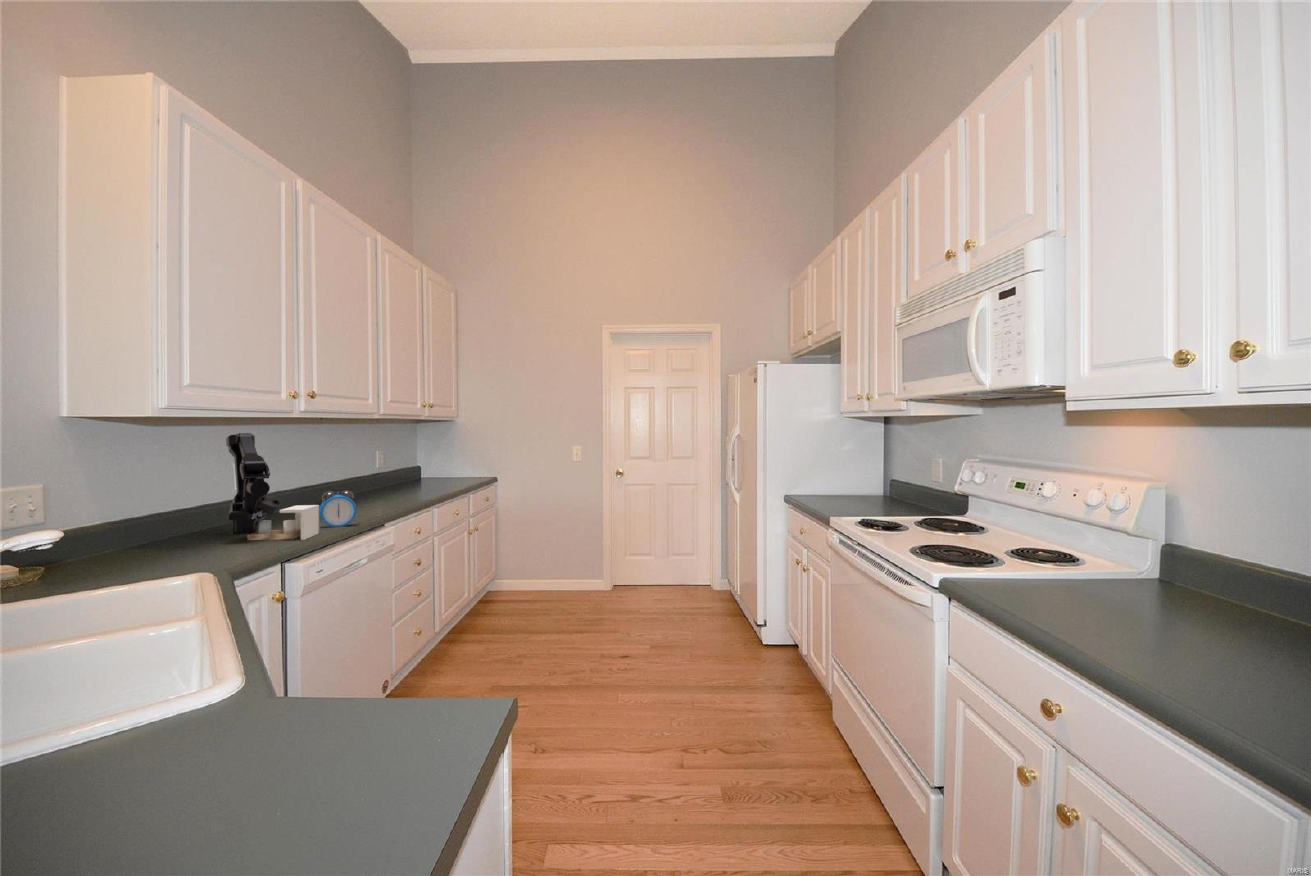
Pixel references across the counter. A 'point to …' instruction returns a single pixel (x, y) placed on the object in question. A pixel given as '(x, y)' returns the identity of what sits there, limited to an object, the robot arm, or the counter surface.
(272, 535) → the tray
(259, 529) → the grey rounded cylinder
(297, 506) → the white l-shaped bracket
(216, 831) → the counter surface
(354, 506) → the alarm clock
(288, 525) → the white rounded cylinder
